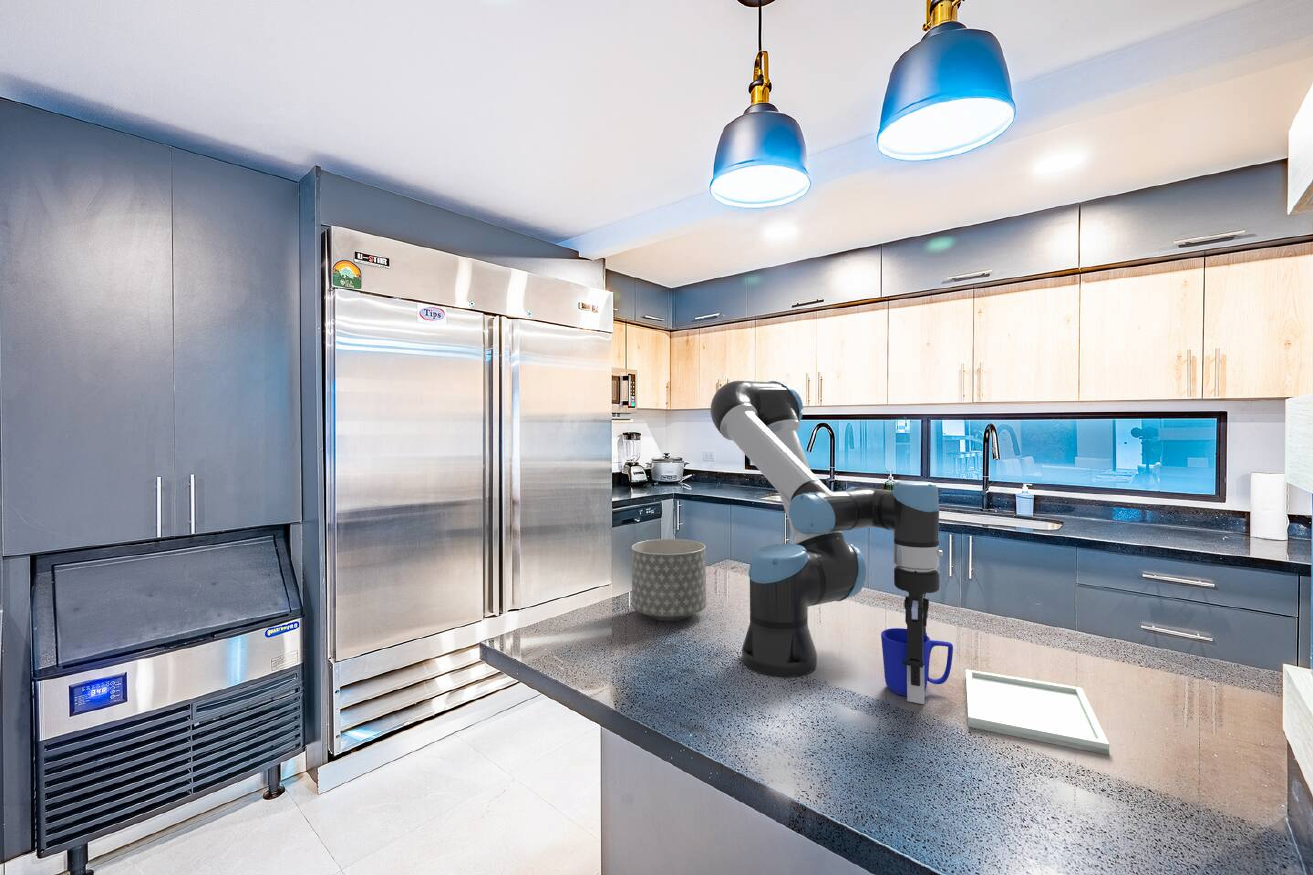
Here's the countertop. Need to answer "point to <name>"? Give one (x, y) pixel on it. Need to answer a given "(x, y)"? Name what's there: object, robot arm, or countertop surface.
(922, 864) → the countertop surface
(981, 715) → the tray
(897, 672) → the mug
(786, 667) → the robot arm
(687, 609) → the planter
